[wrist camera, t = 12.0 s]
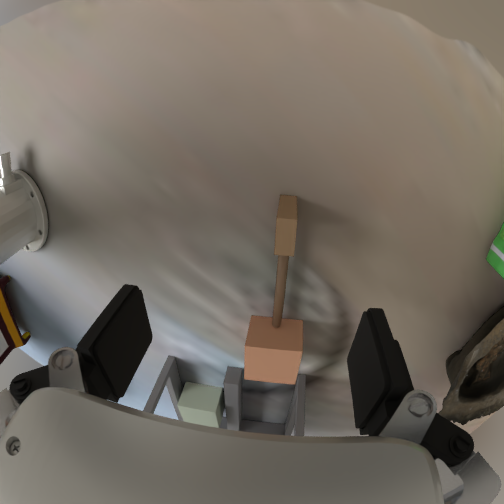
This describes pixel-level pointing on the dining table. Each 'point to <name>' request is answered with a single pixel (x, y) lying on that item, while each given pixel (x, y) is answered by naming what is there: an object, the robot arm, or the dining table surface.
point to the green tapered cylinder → (497, 253)
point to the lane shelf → (232, 402)
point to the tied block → (277, 315)
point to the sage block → (202, 404)
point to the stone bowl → (477, 374)
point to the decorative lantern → (8, 325)
